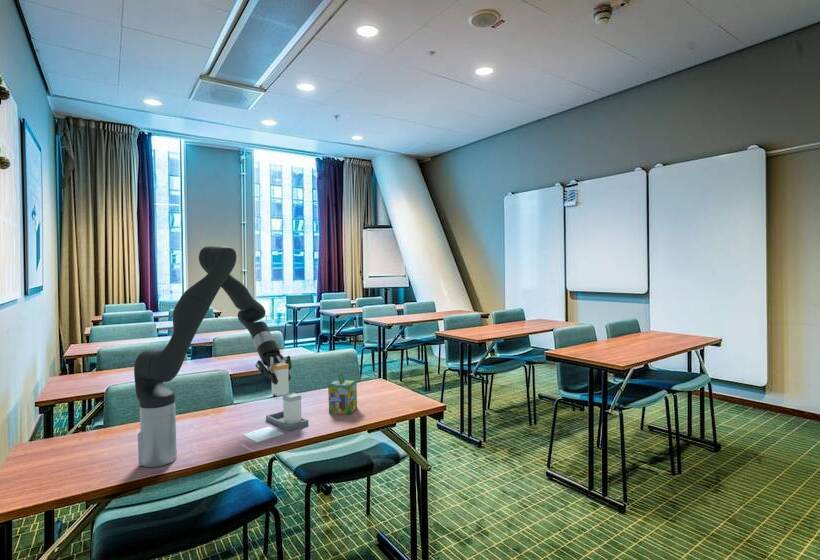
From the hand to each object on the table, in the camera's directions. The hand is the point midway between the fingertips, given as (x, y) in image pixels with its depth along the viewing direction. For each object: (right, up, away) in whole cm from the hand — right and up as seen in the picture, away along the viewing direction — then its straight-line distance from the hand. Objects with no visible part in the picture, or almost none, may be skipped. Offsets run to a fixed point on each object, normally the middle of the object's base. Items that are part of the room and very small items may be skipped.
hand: (282, 381), depth 163 cm
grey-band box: (+5, -15, -4) cm, 16 cm away
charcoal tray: (+2, -15, -1) cm, 15 cm away
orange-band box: (-1, -5, +1) cm, 5 cm away
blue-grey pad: (-3, -16, -12) cm, 20 cm away
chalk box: (+21, -15, +13) cm, 28 cm away
